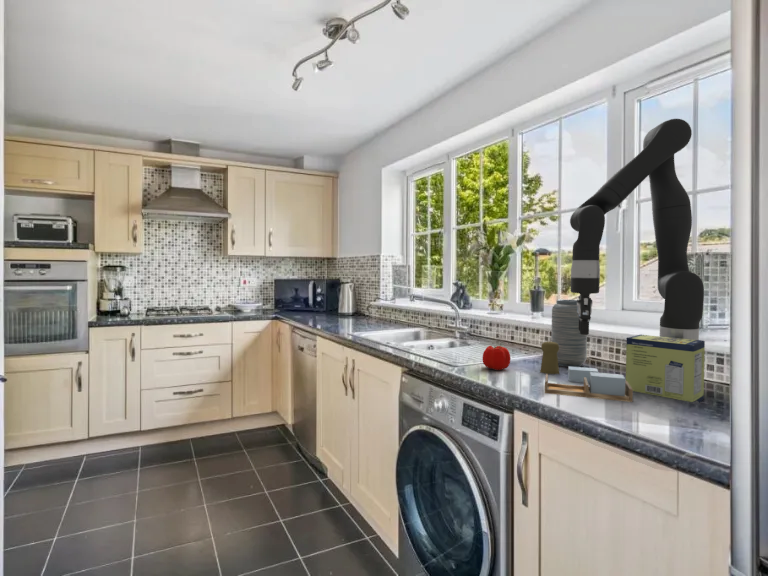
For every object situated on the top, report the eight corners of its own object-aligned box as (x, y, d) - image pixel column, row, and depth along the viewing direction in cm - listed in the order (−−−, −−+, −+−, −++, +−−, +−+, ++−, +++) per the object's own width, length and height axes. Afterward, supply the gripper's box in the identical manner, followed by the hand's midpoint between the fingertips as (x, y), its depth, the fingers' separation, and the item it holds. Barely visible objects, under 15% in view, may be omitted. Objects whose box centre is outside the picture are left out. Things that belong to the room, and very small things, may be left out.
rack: (626, 398, 112) (626, 380, 112) (632, 408, 104) (632, 389, 104) (545, 390, 120) (545, 373, 120) (544, 399, 111) (544, 381, 111)
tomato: (501, 365, 152) (501, 344, 152) (514, 371, 143) (515, 348, 143) (476, 366, 149) (477, 345, 149) (489, 372, 141) (489, 349, 141)
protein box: (637, 388, 123) (639, 333, 122) (704, 400, 111) (706, 340, 110) (623, 395, 116) (625, 337, 115) (693, 408, 104) (695, 344, 103)
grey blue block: (596, 385, 126) (596, 368, 125) (597, 389, 121) (598, 371, 121) (568, 383, 128) (568, 366, 128) (568, 386, 124) (568, 369, 124)
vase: (577, 369, 146) (578, 301, 145) (544, 364, 154) (546, 300, 154) (592, 365, 153) (593, 300, 153) (560, 359, 162) (561, 298, 161)
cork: (561, 379, 132) (562, 343, 132) (540, 378, 133) (541, 342, 133) (557, 374, 138) (558, 340, 138) (538, 373, 139) (538, 339, 139)
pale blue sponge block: (622, 394, 111) (622, 374, 111) (624, 398, 107) (625, 378, 106) (589, 390, 113) (590, 372, 113) (590, 395, 109) (591, 375, 109)
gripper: (602, 276, 116) (600, 337, 116) (597, 276, 129) (595, 330, 130) (571, 276, 119) (570, 335, 119) (570, 276, 132) (568, 329, 132)
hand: (583, 332), depth 124 cm, fingers open, 8 cm apart
